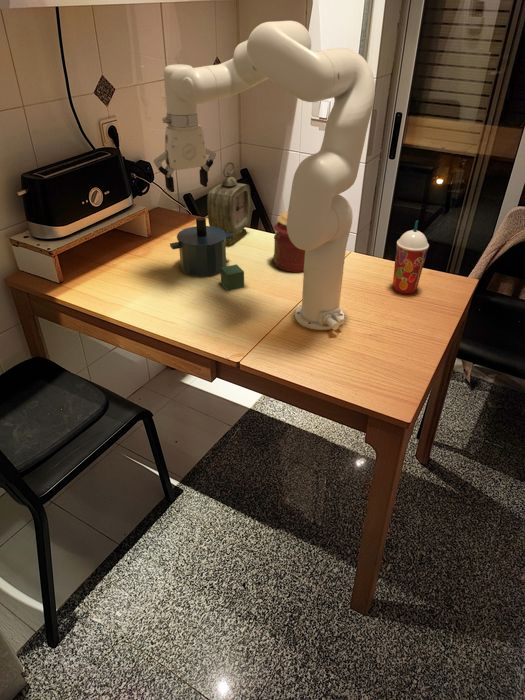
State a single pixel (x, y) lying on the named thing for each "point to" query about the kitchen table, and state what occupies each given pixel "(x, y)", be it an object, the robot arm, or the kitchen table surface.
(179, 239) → the lid
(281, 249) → the kitchen canister
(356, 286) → the kitchen table surface
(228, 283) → the block
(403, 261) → the smoothie
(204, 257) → the pot
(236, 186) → the tabletop clock
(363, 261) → the kitchen table surface
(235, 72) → the robot arm
